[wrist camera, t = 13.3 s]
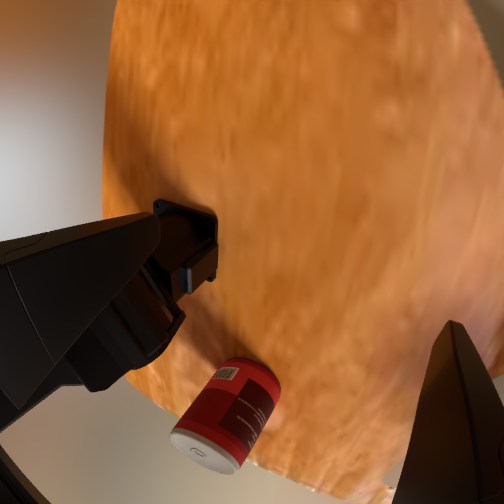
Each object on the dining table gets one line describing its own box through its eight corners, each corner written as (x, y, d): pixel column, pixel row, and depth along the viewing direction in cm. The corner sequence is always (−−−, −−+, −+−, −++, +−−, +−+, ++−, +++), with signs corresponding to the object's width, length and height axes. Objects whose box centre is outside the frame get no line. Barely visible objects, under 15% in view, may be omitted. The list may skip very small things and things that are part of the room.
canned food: (215, 377, 38) (165, 443, 30) (231, 344, 33) (171, 423, 25) (268, 408, 37) (225, 480, 28) (294, 381, 32) (246, 468, 23)
